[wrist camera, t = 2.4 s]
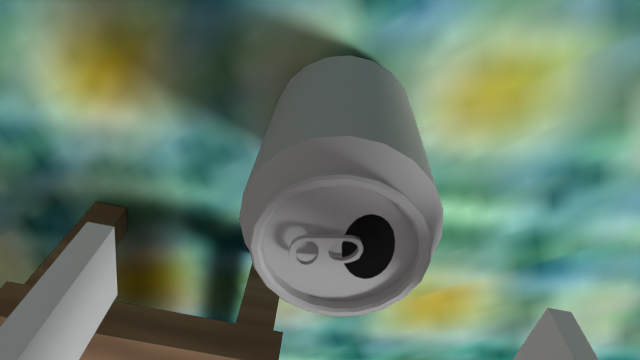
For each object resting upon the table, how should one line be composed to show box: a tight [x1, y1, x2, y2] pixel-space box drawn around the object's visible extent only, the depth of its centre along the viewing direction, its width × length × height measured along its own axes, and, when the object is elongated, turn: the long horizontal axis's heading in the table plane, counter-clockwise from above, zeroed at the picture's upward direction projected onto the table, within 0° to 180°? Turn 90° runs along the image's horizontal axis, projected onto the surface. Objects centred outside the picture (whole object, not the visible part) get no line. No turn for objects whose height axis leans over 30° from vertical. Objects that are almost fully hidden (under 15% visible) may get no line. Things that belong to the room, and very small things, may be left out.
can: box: [239, 55, 443, 316], centre depth 20 cm, size 8×8×12 cm
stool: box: [0, 202, 283, 360], centre depth 29 cm, size 14×14×10 cm
